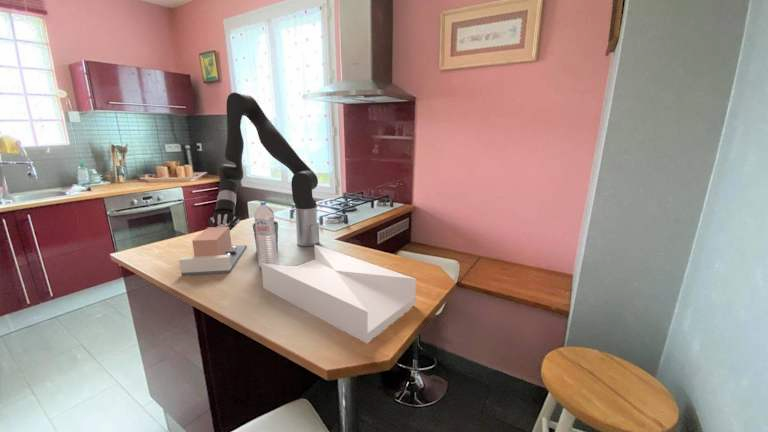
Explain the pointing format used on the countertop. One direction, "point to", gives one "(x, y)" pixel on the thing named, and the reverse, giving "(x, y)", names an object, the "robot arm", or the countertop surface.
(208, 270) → the grey piece
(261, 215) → the water bottle
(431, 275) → the countertop surface
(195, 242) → the terracotta block
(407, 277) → the building model
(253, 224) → the grey pot
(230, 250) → the rear roller
